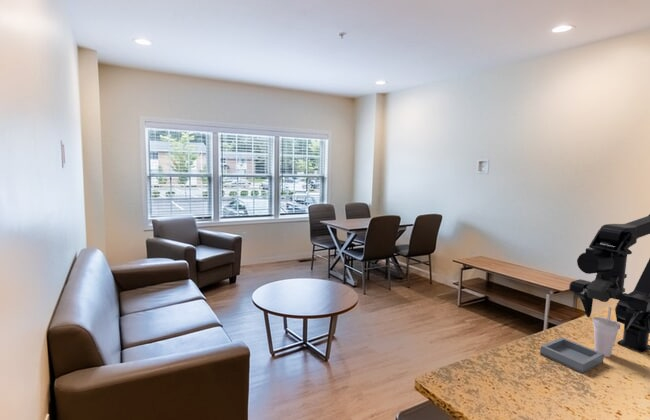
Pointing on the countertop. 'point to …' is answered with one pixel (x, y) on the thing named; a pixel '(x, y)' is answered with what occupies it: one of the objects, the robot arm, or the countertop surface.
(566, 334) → the countertop surface
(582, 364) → the tray
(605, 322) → the smoothie
